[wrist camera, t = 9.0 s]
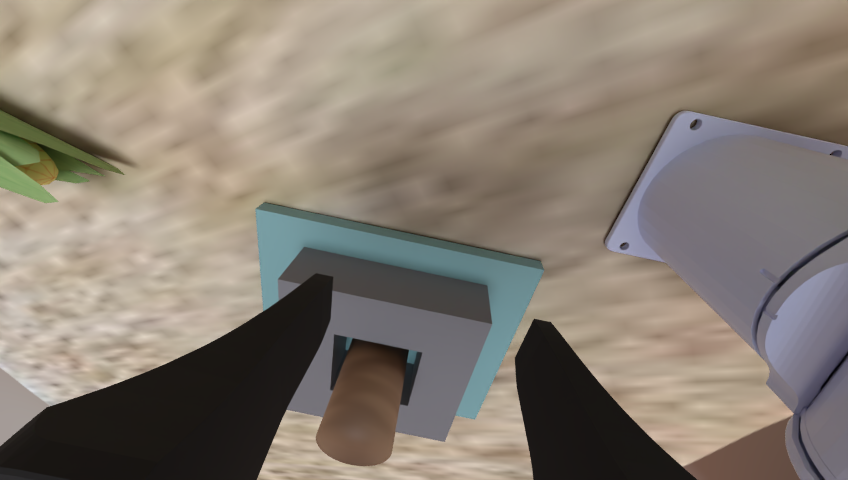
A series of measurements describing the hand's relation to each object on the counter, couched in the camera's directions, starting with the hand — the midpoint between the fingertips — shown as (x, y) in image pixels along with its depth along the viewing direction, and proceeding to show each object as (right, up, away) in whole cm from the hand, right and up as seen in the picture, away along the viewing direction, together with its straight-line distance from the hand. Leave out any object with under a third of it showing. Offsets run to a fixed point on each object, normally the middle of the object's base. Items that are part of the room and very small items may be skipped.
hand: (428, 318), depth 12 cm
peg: (-3, -4, +12) cm, 13 cm away
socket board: (-3, -3, +13) cm, 14 cm away
